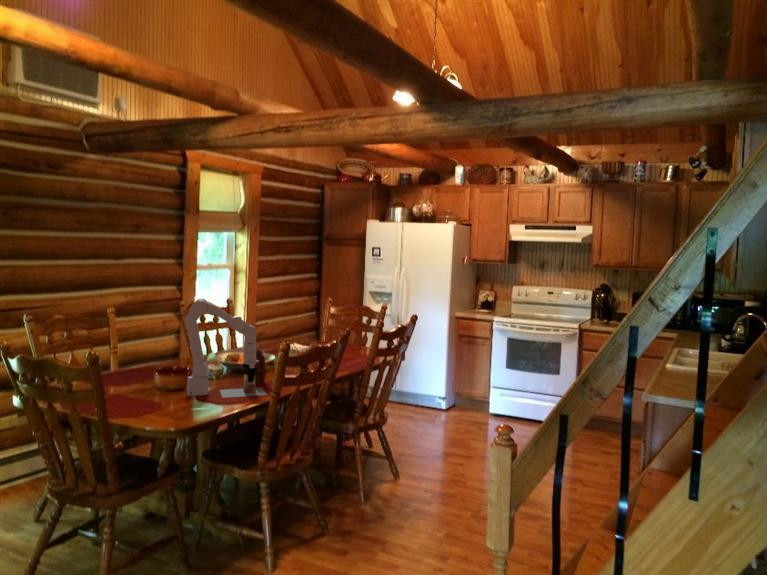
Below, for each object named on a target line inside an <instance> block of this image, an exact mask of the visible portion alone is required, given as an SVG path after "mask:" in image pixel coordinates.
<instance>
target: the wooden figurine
mask: <svg viewBox="0 0 767 575" xmlns="http://www.w3.org/2000/svg"><path fill="white" fill-rule="evenodd" d="M256 360H259V362H257V363H256V364H255V365H254V367H257V368H258V369H257V371H256V373H255V384H256V386H258V385H264V384H265V382H266V357H265V356H264V353H263V351H262V350H261V349H260V348H257V347H256Z"/></svg>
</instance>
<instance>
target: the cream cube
mask: <svg viewBox="0 0 767 575" xmlns="http://www.w3.org/2000/svg"><path fill="white" fill-rule="evenodd" d="M244 384H245V385H255V377H254V381H253V382H248V376H247V374H245V373H244V375H243V385H244Z"/></svg>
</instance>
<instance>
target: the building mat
mask: <svg viewBox="0 0 767 575" xmlns="http://www.w3.org/2000/svg"><path fill="white" fill-rule="evenodd" d="M219 392H220V395H221V397H222V399H223V398H225V399H226V398H239V397H240V398H241V397H258V396H267V395H268V394H267V392H266V391H265V389H264V388H263V387H256V393H248V394H245V393H244V391H243V388H230V389H228V388H227V389H219Z"/></svg>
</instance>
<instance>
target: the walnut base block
mask: <svg viewBox="0 0 767 575" xmlns="http://www.w3.org/2000/svg"><path fill="white" fill-rule="evenodd" d="M256 388H257V385H256V384H255V385H245V384H244V383H243V388H242V389H243V391H244V393H245V394H248V393H256Z"/></svg>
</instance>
